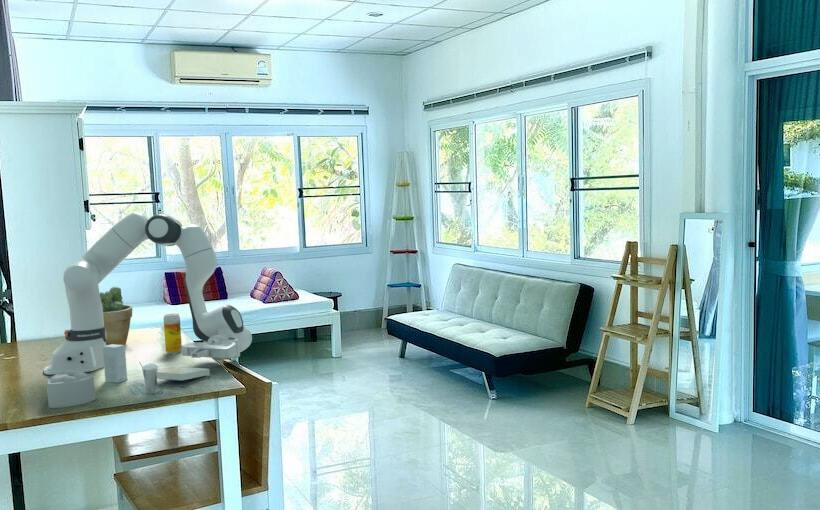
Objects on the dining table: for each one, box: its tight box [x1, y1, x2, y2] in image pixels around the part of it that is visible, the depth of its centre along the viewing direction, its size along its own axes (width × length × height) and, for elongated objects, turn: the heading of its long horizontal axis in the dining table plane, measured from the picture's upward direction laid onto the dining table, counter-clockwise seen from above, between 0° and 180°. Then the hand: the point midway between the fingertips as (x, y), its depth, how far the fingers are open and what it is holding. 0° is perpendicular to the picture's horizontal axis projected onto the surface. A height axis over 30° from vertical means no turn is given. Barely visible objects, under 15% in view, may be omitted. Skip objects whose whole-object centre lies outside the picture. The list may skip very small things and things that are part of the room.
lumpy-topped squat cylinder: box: [46, 371, 96, 409], centre depth 226 cm, size 10×13×9 cm
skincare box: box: [103, 344, 128, 384], centre depth 249 cm, size 6×4×12 cm
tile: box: [157, 366, 210, 381], centre depth 247 cm, size 2×10×14 cm
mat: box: [157, 375, 211, 388], centre depth 246 cm, size 14×12×1 cm
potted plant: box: [99, 286, 133, 346], centre depth 308 cm, size 18×19×25 cm
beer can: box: [163, 313, 183, 355], centre depth 290 cm, size 6×6×15 cm
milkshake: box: [139, 361, 159, 395], centre depth 232 cm, size 4×5×10 cm
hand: (194, 355), depth 252 cm, fingers closed
